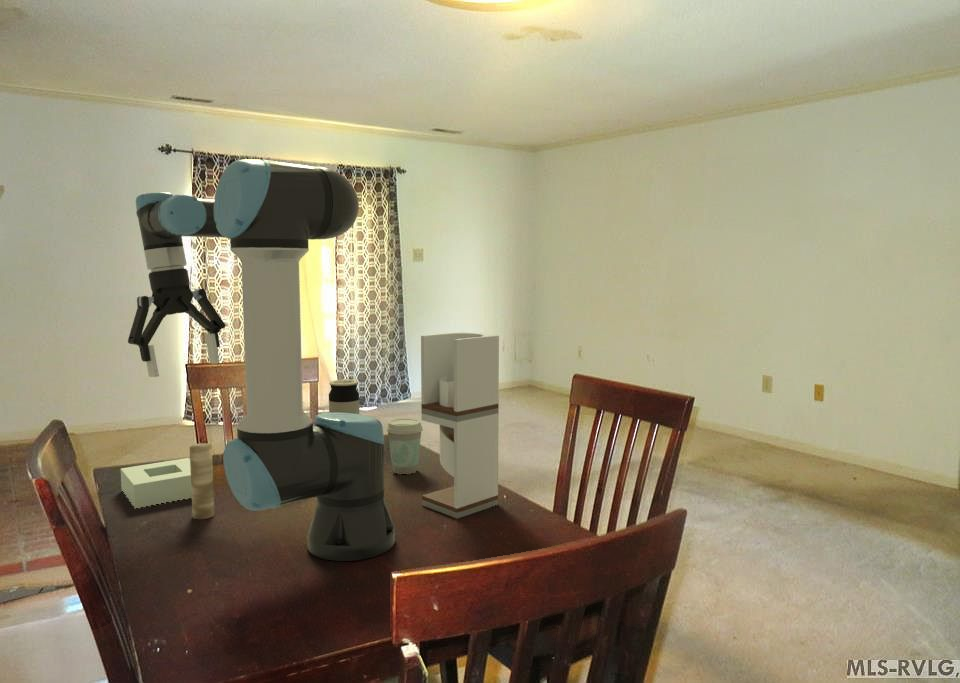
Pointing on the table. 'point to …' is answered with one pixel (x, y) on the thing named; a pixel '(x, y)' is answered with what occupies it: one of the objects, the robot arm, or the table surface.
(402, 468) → the coffee cup
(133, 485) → the socket block
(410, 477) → the table surface
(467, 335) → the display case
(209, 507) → the dowel
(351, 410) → the travel mug
